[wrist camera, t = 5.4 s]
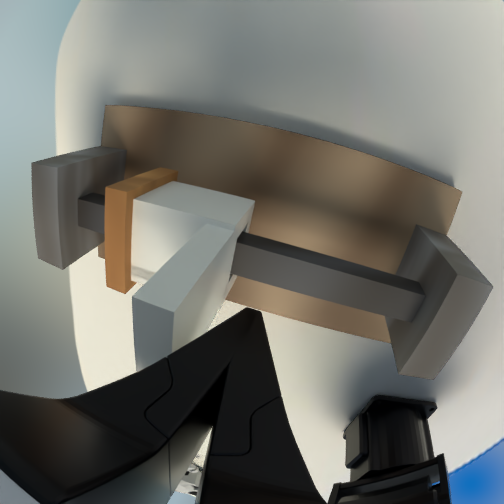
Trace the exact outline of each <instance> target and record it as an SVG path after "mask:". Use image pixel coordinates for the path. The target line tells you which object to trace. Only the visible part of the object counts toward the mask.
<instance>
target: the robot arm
mask: <svg viewBox="0 0 504 504" xmlns="http://www.w3.org/2000/svg"><path fill="white" fill-rule="evenodd" d="M436 409H437V405H436V403H434V402H425V401H416V400H408V399H401V398H394V397H387V396H381V395H378V396H375V397H373V398H372V399H371V401H370V402H369V403H368V404H367V406H366V407H365V408H364V409H363V411H362V412H361V413H360V414H359V415H358V416H357V417H356V418H355V419H354V421H353V422H352V423H351V424H350V425H349V427H348V428H347V429H346V431H345V432H344V434H343V438H344V439H345V440H346V462H345V466H346V468H348V469H351V473H350V482H346V483H341V482H340V483H335V484H334V485H333V489H332V492H331V494H330V497H329V500H328V504H452V502H451V491H450V484H449V477H448V471H447V466H446V462H445V457H444V453H442V454H440V455H437V457H435V458H434V452H433V446H432V440H431V435H430V430H429V425H428V420H427V419H428V418H429V417H430V416H431V415H432V414H433V413H434V412H435V410H436ZM212 426H213V427H212ZM211 428H212V431H211V435H210V440H209V444H208V448H207V453H206V457H205V461H204V465H203V470H202V474H201V478H200V483H199V487H198V491H197V495H196V500H195V504H327V503H326V502H325V500H324V499H323V498H322V497H321V495H320V494H319V492H318V490H317V489H316V487H315V485H314V483H313V480H312V478H311V476H310V474H309V471H308V469H307V467H306V464H305V462H304V460H303V457H302V455H301V453H300V450H299V448H298V445H297V443H296V441H295V438H294V435H293V433H292V430H291V427H290V425H289V421H288V418H287V414H286V411H285V407H284V403H283V399H282V397H281V391H280V387H279V383H278V379H277V375H276V370H275V366H274V362H273V358H272V354H271V350H270V346H269V341H268V337H267V333H266V329H265V325H264V321H263V316H262V313H261V312H260V311H258V310H255V309H252V308H248V307H247V308H244V309H243V310H241V311H240V312H238V313H237V314H235V315H233V316H232V317H230V318H229V319H227V320H225V321H224V322H222V323H221V324H219V325H217V326H216V327H214V328H212V329H211V330H209V331H208V332H206V333H204V334H203V335H201V336H199V337H198V338H196V339H194V340H193V341H191V342H189V343H188V344H186V345H184V346H183V347H181V348H179V349H178V350H176V351H174V352H173V353H171V354H169V355H168V356H167V357H164V358H162V359H160V360H159V361H157V362H155V363H153V364H152V365H150V366H148V367H146V368H144V369H142V370H140V371H138V372H136V373H134V374H131V375H129V376H127V377H125V378H122V379H120V380H117V381H115V382H112V383H110V384H107V385H105V386H102V387H100V388H97V389H94V390H92V391H89V392H86V393H84V394H81V395H78V396H74V397H70V398H64V399H51V398H44V397H37V396H30V395H24V394H19V393H13V392H8V391H3V390H0V504H167V503H168V501H169V500H170V497H171V496H172V495H173V493H174V491H175V490H176V488H177V486H178V485H179V483H180V481H181V480H182V478H183V476H184V475H185V473H186V471H187V470H188V468H189V466H190V465H191V463H192V461H193V459H194V458H195V456H196V454H197V453H198V451H199V449H200V447H201V446H202V444H203V442H204V440H205V439H206V437H207V435H208V433H209V432H210V430H211ZM438 481H440V483H439V484H436V485H433V486H432V483H435V482H438Z"/></svg>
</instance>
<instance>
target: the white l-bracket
mask: <svg viewBox="0 0 504 504" xmlns="http://www.w3.org/2000/svg"><path fill="white" fill-rule="evenodd" d="M254 205H255V201H254V200H251V199H247V198H243V197H239V196H235V195H231V194H227V193H223V192H219V191H214V190H210V189H206V188H202V187H197V186H193V185H189V184H184V183H180V182H176V181H171V182H169V183H167V184H165V185H162V186H160V187H158V188H156V189H154V190H152V191H149V192H147V193H145V194H143V195H141V196H139V197H137V198H135V199H133V216H132V240H131V281H134V282H137V283H139V284H142V285H143V286H142V287H141V288H140V289H139V290H138V291H137V292H136V293H135V294H134V295H133V296H132V311H133V332H134V347H135V360H136V371H137V372H138V371H140V370H142V369H144V368H146V367H148V366H150V365H152V364H153V363H155V362H157V361H159V360H160V359H162V358H164V357H167V356H168V355H169V354H171V353H173V352H174V351H176V350H178V349H179V348H181V347H183V346H184V345H186V344H188V343H189V342H191V341H193V340H194V339H196V338H198V337H199V336H201V335H203V334H204V333H206V332H207V330H208V328H209V326H210V325H211V323H212V321H213V319H214V317H215V315H216V313H217V311H218V310H220V308H221V306H222V304H223V303H224V301H225V299H226V297H227V295H228V293H229V291H230V289H231V287H232V285H233V283H234V282H235V280H236V278H237V275H234V274H230V272H231V267H232V262H233V257H234V252H235V247H236V242H237V238H238V237H239V235H240V234H241V232H242V231H243V232H247V233H248V232H249V227H250V223H251V218H252V214H253V209H254Z"/></svg>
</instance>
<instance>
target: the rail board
mask: <svg viewBox="0 0 504 504" xmlns="http://www.w3.org/2000/svg"><path fill="white" fill-rule="evenodd" d="M171 181H176V182H180V183H184V184H189V185H193V186H197V187H202V188H206V189H210V190H214V191H219V192H223V193H227V194H231V195H235V196H239V197H243V198H247V199H251V200H254V201H255V205H254V209H253V214H252V218H251V223H250V227H249V232H248V233H247V232H243V231H242V232H241V234H240V235H239V237H238V238H237V242H236V247H235V252H234V257H233V262H232V267H231V272H230V274H234V275H237V278H236V280H235V282H234V283H233V285H232V287H231V289H230V291H229V293H228V295H227V297H226V299H225V300H228V301H232V302H235V303H238V304H242V305H245V306H248V307H252V308H255V309H259V310H262V311H266V312H269V313H273V314H276V315H280V316H283V317H287V318H291V319H294V320H298V321H302V322H306V323H309V324H313V325H317V326H321V327H325V328H329V329H333V330H336V331H340V332H345V333H349V334H353V335H357V336H361V337H365V338H370V339H374V340H378V341H383V342H387V343H391V344H392V348H393V352H394V356H395V361H396V365H397V370H398V374H401V375H407V376H413V377H419V378H425V379H432V380H434V379H435V377H436V376H437V375H438V373H439V372H440V371H441V369H442V368H443V367H444V365H445V364H446V363H447V361H448V360H449V359H450V357H451V356H452V354H453V353H454V351H455V350H456V348H457V347H458V346H459V344H460V343H461V341H462V340H463V338H464V336H465V335H466V333H467V332H468V330H469V329H470V327H471V325H472V324H473V322H474V320H475V319H476V317H477V315H478V314H479V312H480V310H481V309H482V307H483V305H484V303H485V301H486V300H487V298H488V296H489V294H490V292H491V290H492V288H493V286H492V285H491V283H490V282H489V281H488V280H487V279H486V278H485V276H484V275H483V274H482V273H481V272H480V271H479V270H478V268H477V267H476V266H475V265H474V264H473V263H472V262H471V261H470V260H469V259H468V257H467V256H466V255H465V254H464V253H463V252H462V251H461V250H460V249H459V248H458V247H457V246H456V245H455V244H454V243H453V242H452V241H451V240H450V239H449V238H448V237H447V236H446V235H447V233H448V230H449V227H450V225H451V222H452V220H453V217H454V214H455V212H456V209H457V206H458V203H459V200H460V197H461V194H462V192H461V191H460V190H458V189H456V188H454V187H452V186H450V185H447V184H445V183H443V182H440V181H438V180H436V179H433V178H431V177H429V176H426V175H424V174H421V173H419V172H416V171H414V170H411V169H409V168H406V167H403V166H401V165H398V164H395V163H393V162H390V161H387V160H384V159H381V158H378V157H376V156H373V155H370V154H367V153H364V152H361V151H357V150H354V149H351V148H348V147H345V146H341V145H338V144H335V143H331V142H328V141H324V140H321V139H317V138H313V137H310V136H306V135H302V134H298V133H294V132H290V131H286V130H282V129H277V128H273V127H268V126H264V125H259V124H254V123H250V122H245V121H239V120H234V119H228V118H223V117H217V116H211V115H204V114H198V113H191V112H183V111H175V110H167V109H158V108H147V107H136V106H121V105H106V106H105V113H104V121H103V130H102V139H101V146H99V147H94V148H89V149H85V150H80V151H76V152H71V153H67V154H63V155H59V156H56V157H51V158H48V159H44V160H40V161H36V162H33V163H32V198H33V199H32V200H33V216H34V228H35V237H36V246H37V253H38V258H39V259H41V260H43V261H45V262H47V263H49V264H52V265H54V266H56V267H58V268H60V269H62V270H63V269H65V268H66V267H67V266H69V265H70V264H72V263H73V262H75V261H76V260H78V259H79V258H80V257H82V256H83V255H85V254H86V253H88V252H89V251H91V250H92V249H94V248H95V247H97V246H98V257H101V258H103V259H105V267H106V285H107V287H109V288H111V289H114V290H116V291H119V292H121V293H124V294H126V293H127V292H128V291H129V290H130V289H131V288H132V287H133V286H134V285H135V284H136V283H137V282H134V281H131V240H132V216H133V199H135V198H137V197H139V196H141V195H143V194H145V193H147V192H149V191H152V190H154V189H156V188H158V187H160V186H162V185H165V184H167V183H169V182H171Z"/></svg>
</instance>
